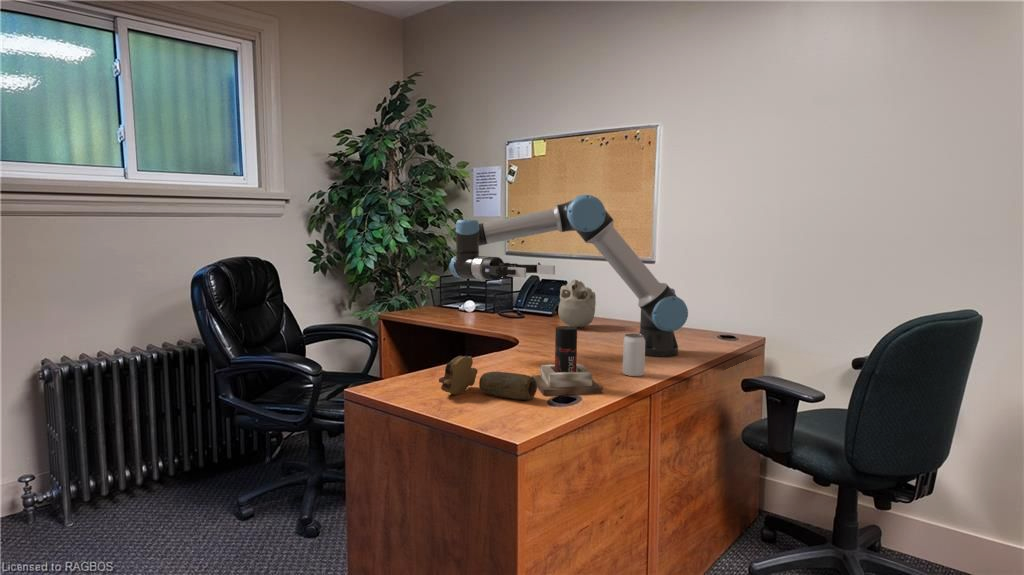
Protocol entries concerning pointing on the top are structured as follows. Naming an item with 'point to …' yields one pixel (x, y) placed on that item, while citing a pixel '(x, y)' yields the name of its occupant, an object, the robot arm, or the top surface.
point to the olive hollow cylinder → (508, 385)
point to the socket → (566, 381)
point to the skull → (576, 304)
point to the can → (634, 355)
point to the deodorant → (565, 349)
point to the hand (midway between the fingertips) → (540, 271)
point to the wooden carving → (458, 375)
